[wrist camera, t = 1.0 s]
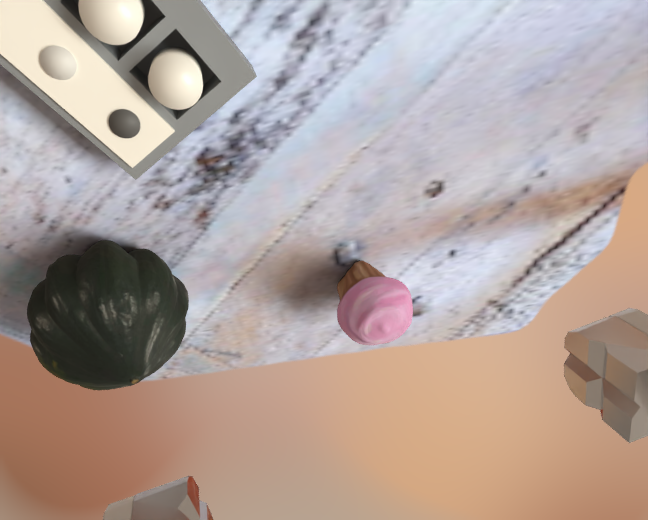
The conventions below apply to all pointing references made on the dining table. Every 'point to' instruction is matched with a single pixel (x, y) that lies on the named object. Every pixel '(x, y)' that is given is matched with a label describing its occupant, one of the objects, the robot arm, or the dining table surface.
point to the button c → (175, 78)
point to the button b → (112, 19)
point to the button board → (119, 73)
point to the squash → (107, 316)
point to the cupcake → (373, 305)
